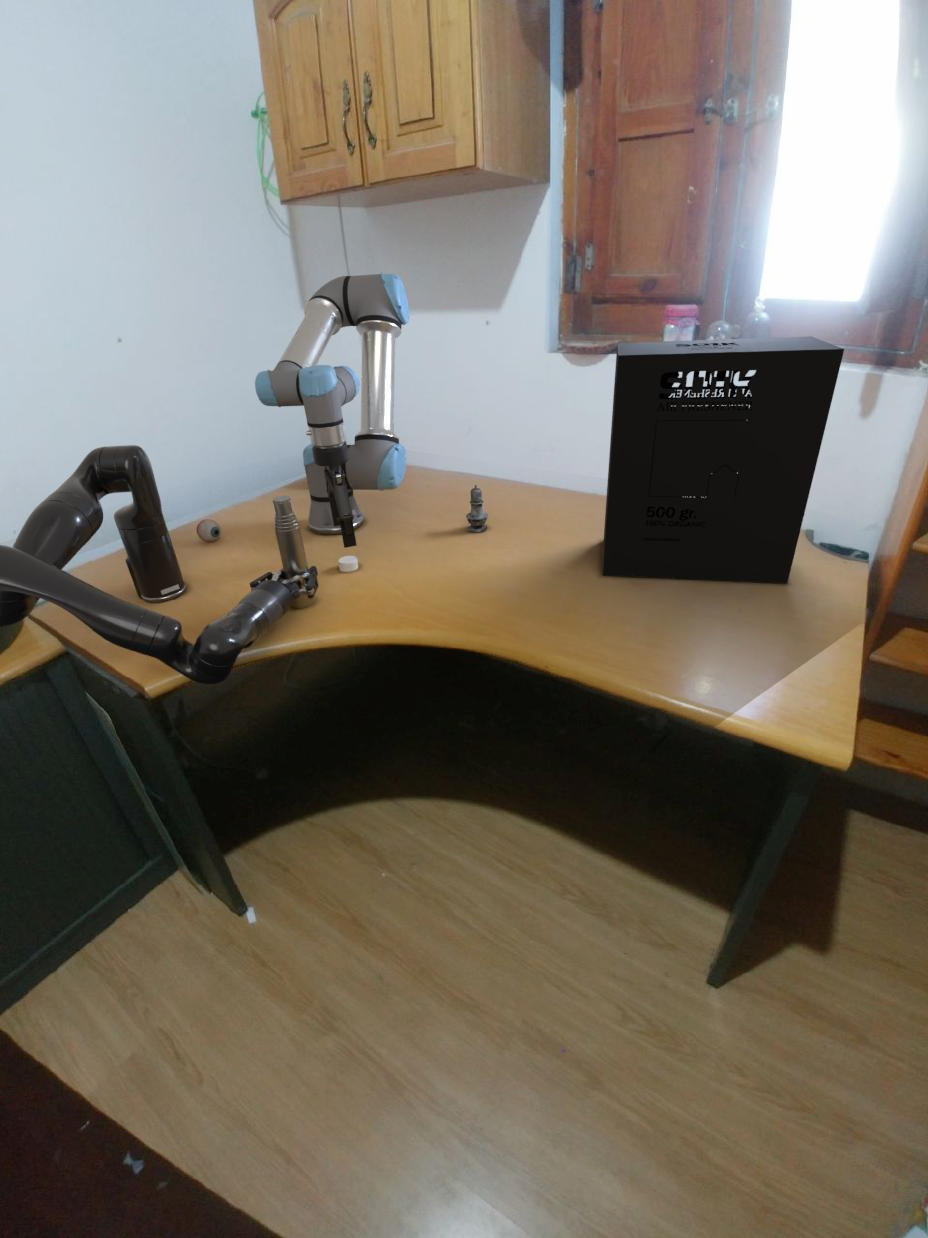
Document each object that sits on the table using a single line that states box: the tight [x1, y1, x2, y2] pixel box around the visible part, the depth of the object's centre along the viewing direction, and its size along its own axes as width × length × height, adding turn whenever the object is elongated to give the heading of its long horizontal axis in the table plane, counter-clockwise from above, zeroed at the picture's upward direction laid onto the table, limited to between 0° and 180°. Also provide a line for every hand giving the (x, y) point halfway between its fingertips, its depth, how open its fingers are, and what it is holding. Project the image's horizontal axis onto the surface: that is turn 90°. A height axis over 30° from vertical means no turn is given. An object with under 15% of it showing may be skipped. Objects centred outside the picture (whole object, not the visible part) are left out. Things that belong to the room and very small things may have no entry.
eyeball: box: [196, 518, 222, 543], centre depth 162 cm, size 6×6×6 cm
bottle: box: [272, 495, 316, 609], centre depth 124 cm, size 5×5×23 cm
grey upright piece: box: [465, 484, 489, 533], centre depth 159 cm, size 6×6×12 cm
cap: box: [337, 555, 359, 573], centre depth 144 cm, size 4×4×2 cm
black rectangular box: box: [602, 336, 845, 585], centre depth 127 cm, size 38×20×45 cm, turn 78°
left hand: (302, 569), depth 129 cm, fingers closed on bottle, 5 cm apart
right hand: (344, 535), depth 141 cm, fingers open, 13 cm apart
